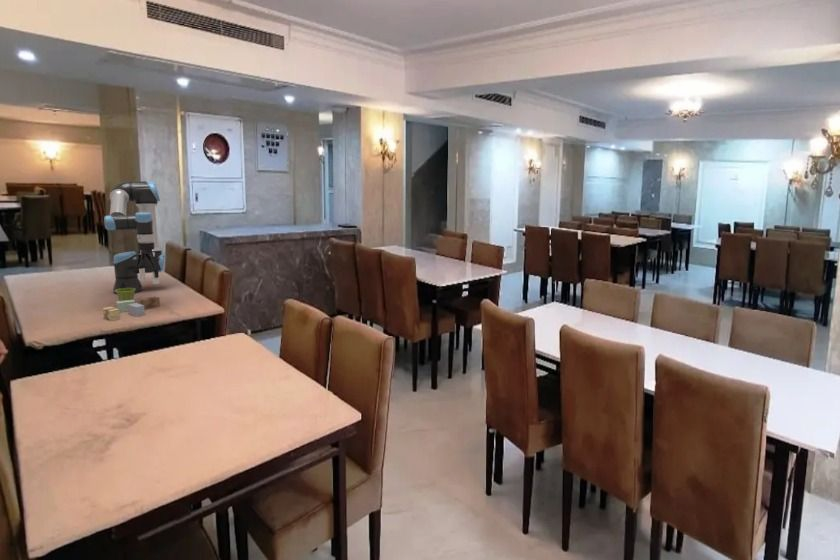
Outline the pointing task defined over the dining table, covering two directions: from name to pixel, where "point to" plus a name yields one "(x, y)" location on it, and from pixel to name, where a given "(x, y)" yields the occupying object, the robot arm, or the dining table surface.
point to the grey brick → (136, 309)
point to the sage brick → (124, 305)
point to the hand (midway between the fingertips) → (149, 282)
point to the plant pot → (125, 294)
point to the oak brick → (111, 313)
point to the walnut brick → (150, 302)
